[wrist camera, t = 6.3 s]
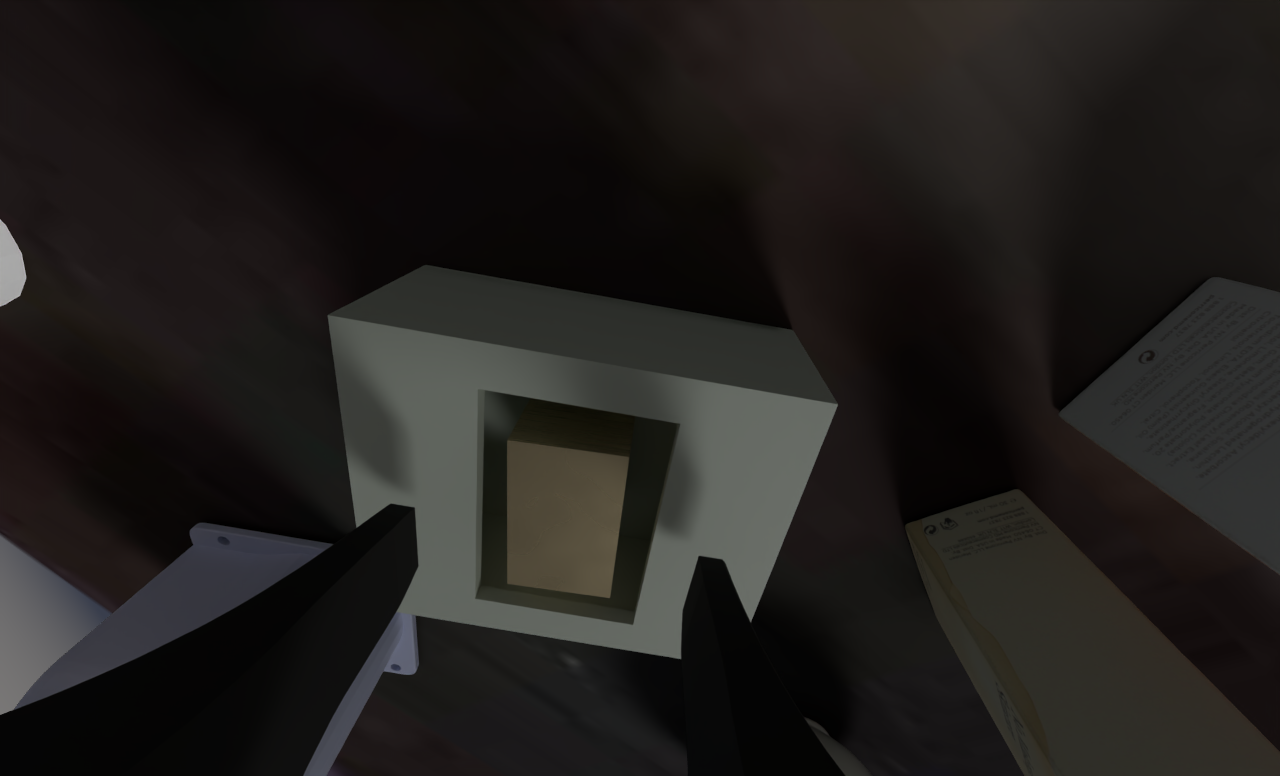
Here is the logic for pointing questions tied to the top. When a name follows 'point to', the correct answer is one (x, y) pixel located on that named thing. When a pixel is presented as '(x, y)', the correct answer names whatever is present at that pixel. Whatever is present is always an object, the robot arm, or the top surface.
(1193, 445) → the small box
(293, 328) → the top surface
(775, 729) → the robot arm
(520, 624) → the slot box
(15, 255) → the beverage cup
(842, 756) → the lidded jar
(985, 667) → the skincare box
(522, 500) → the wooden rectangular block
